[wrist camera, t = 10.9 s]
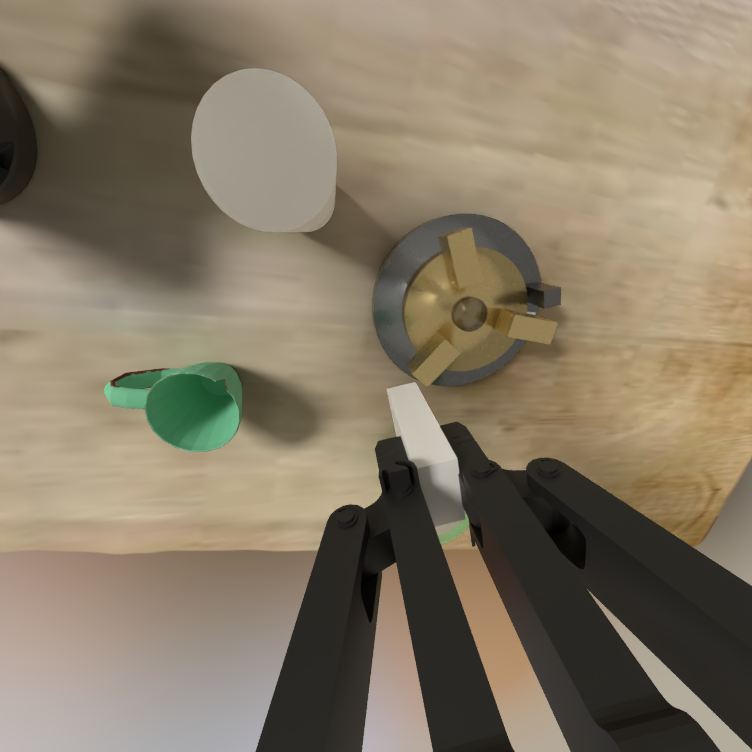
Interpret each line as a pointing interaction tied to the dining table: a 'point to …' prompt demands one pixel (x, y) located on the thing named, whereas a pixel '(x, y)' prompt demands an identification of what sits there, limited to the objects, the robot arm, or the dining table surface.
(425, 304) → the three-jaw lathe chuck
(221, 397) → the mug
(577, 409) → the dining table surface
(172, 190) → the dining table surface
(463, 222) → the ring
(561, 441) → the dining table surface
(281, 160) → the cylindrical container
